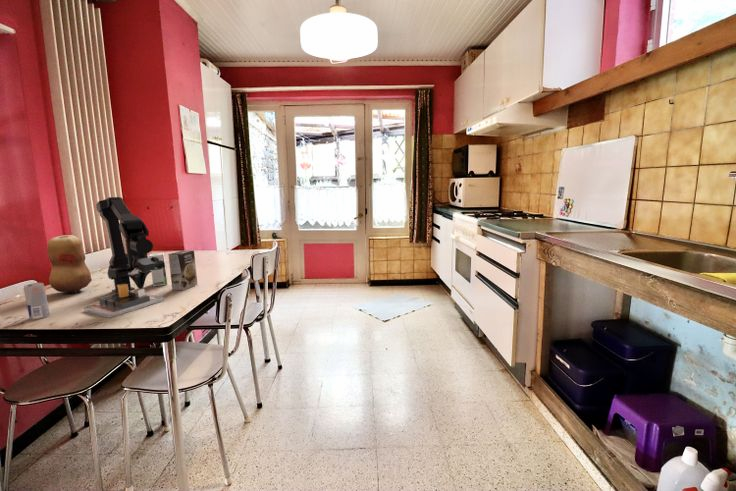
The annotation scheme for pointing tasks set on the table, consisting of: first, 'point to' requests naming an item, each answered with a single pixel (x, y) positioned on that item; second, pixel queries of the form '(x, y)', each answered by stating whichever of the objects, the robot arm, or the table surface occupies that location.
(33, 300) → the white carton
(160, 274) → the syrup box
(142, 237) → the robot arm
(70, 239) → the butternut squash
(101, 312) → the panel
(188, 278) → the coffee box
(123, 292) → the orange rectangular block
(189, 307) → the table surface
